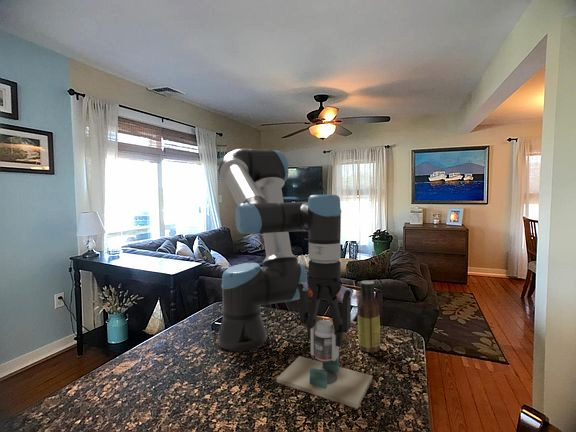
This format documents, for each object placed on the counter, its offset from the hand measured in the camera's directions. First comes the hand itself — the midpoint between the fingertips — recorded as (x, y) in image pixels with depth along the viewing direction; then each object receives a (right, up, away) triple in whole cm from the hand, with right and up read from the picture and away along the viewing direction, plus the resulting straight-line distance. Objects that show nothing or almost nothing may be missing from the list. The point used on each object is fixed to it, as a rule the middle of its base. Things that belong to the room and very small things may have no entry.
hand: (324, 355), depth 77 cm
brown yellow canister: (+15, -5, +16) cm, 23 cm away
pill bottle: (0, -1, 0) cm, 1 cm away
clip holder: (0, -6, 0) cm, 7 cm away
